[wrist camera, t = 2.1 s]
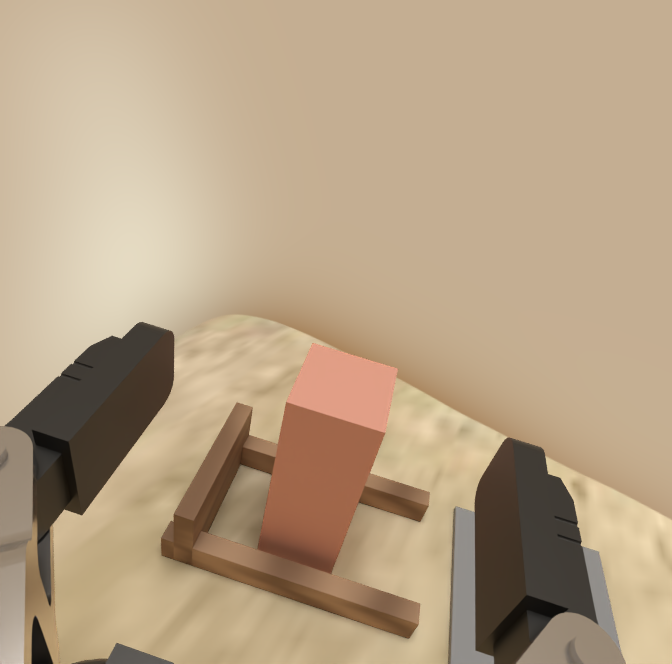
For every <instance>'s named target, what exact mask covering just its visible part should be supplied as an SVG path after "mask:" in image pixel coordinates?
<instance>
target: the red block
mask: <svg viewBox="0 0 672 664" xmlns="http://www.w3.org/2000/svg"><path fill="white" fill-rule="evenodd" d="M397 370H398V369H397V368H393V367H390V366H387V365H384V364H380V363H377V362H374V361H370V360H367V359H364V358H361V357H357V356H354V355H351V354H347V353H344V352H341V351H338V350H334V349H331V348H328V347H324V346H321V345H318V344H314V343H312V346H311V348H310V350H309V352H308V354H307V357H306V359H305V361H304V363H303V366H302V368H301V370H300V372H299V375H298V377H297V379H296V381H295V384H294V386H293V388H292V390H291V393H290V395H289V397H288V399H287V402H286V406H285V411H284V416H283V421H282V426H281V431H280V436H279V442H278V447H277V452H276V457H275V462H274V467H273V472H272V477H271V482H270V488H269V493H268V498H267V503H266V508H265V513H264V518H263V523H262V529H261V534H260V539H259V544H258V549H257V550H260V551H263V552H266V553H269V554H272V555H275V556H278V557H281V558H284V559H287V560H290V561H293V562H296V563H299V564H302V565H305V566H308V567H311V568H314V569H317V570H320V571H323V572H326V573H329V574H331V572H332V569H333V567H334V564H335V562H336V559H337V556H338V554H339V551H340V549H341V546H342V544H343V541H344V538H345V536H346V533H347V531H348V528H349V525H350V523H351V520H352V518H353V515H354V512H355V510H356V507H357V505H358V502H359V499H360V497H361V494H362V492H363V489H364V487H365V484H366V481H367V479H368V476H369V474H370V471H371V468H372V466H373V463H374V461H375V458H376V455H377V453H378V450H379V448H380V445H381V442H382V440H383V437H384V435H385V431H386V426H387V421H388V416H389V411H390V406H391V401H392V395H393V390H394V385H395V380H396V374H397Z"/></svg>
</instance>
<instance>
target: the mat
mask: <svg viewBox="0 0 672 664" xmlns="http://www.w3.org/2000/svg"><path fill="white" fill-rule="evenodd" d="M583 552H584V557H585V562H586V567H587V572H588V577H589V582H590V587H591V592H592V597H593V602H594V607H595V612H596V617H597V621H598V624H599V626H600V627H601V628H602V629H604V630H605V631H606V633H607V634H608V635H609V636H610V637H611V638H612V639H613V641H614V642H615V643H616V645H617V647H618V648H619V650H620V651H621V649H620V645H619V640H618V636H617V631H616V627H615V622H614V618H613V613H612V609H611V604H610V600H609V595H608V591H607V586H606V582H605V577H604V573H603V568H602V564H601V559H600V555H599V552H598V551H595V550H592V549H589V548H585V547H583ZM449 664H494V657H493V656H490V655H487V654H484V653H481V652H478V651H475V512H472V511H469V510H466V509H463V508H460V507H455V509H454V525H453V553H452V581H451V609H450V637H449Z"/></svg>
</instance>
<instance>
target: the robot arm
mask: <svg viewBox="0 0 672 664" xmlns="http://www.w3.org/2000/svg"><path fill="white" fill-rule="evenodd" d="M173 380H174V335H173V332H172V331H169V330H166V329H163V328H160V327H156V326H153V325H150V324H147V323H144V322H140V323H138V324H136V325H135V326H134V327H133V328H132V329H131V330H130V331H129V332H128V333H127V334H126V335H125V336H124V337H123V338H122V339H121V338H117V337H114V336H111V337H109V338H106V339H104V340H102V341H100V342H98V343H96V344H94V345H91V346H90V347H89V348H88V349H87V350H85V351H84V352H83V353H82V354H81V355H80V356H79V357H78V358H77V359H76V360H75V361H74V364H71V365H69V366H68V367H67V368H66V370H64V371H63V372H62V374H61V376H60V377H57V378H56V379H55V380H54V381H52V382H51V383H50V384H49V385H48V386H47V387H46V388H45V389H44V390H43V391H42V392H41V393H40V394H39V395H38V396H37V397H35V398H34V399H33V401H31V402H30V403H29V404H28V405H27V406H26V407H25V408H24V409H23V410H22V411H21V412H19V413H18V414H17V415H16V416H15V418H13V419H12V420H11V421H10V422H9V423H7V424H6V425H5V426H0V664H60V653H59V641H58V633H57V626H56V616H55V587H54V545H53V525H52V524H53V523H54V522H55V520H56V519H57V518H58V517H59V515H60V514H61V513H62V512H63V510H64V509H65V510H68V511H71V512H74V513H77V514H80V515H83V513H84V512H85V511H86V509H87V508H88V507H89V505H90V504H91V503H92V501H93V500H94V498H95V497H96V496H97V494H98V493H99V492H100V490H101V489H102V488H103V486H104V485H105V484H106V482H107V481H108V479H109V478H110V477H111V475H112V474H113V473H114V471H115V470H116V469H117V467H118V466H119V465H120V463H121V462H122V461H123V459H124V458H125V456H126V455H127V454H128V452H129V451H130V450H131V448H132V447H133V446H134V444H135V443H136V442H137V440H138V439H139V437H140V436H141V435H142V433H143V432H144V431H145V429H146V428H147V427H148V425H149V424H150V423H151V421H152V420H153V419H154V417H155V416H156V414H157V413H158V412H159V410H160V409H161V408H162V406H163V405H164V404H165V402H166V400H167V399H168V397H169V394H170V392H171V389H172V386H173ZM577 524H578V521H577V516H576V511H575V506H574V501H573V499H572V497H571V496H570V494H569V492H568V490H567V489H566V487H565V485H564V484H563V482H562V480H561V478H559V477H555V476H552V475H549V474H548V471H547V465H546V458H545V453H544V450H543V449H542V448H541V447H538V446H535V445H532V444H528V443H525V442H522V441H519V440H515V439H512V438H507V439H505V440H504V442H503V443H502V445H501V446H500V448H499V450H498V451H497V453H496V454H495V456H494V458H493V459H492V461H491V463H490V464H489V466H488V467H487V469H486V471H485V472H484V474H483V476H482V477H481V479H480V482H479V484H478V487H477V491H476V496H475V651H478V652H481V653H484V654H487V655H490V656H493V657H494V664H626V663H625V660H624V658H623V656H622V653H621V651H620V650H619V648H618V647H617V645H616V643H615V642H614V641H613V639H612V638H611V637H610V636H609V635H608V634H607V633H606V631H605V630H604V629H602V628H601V627H600V626H599V624H598V621H597V617H596V612H595V607H594V602H593V597H592V592H591V587H590V582H589V577H588V572H587V567H586V562H585V557H584V552H583V547H582V546H581V542H582V541H581V536H580V531H579V528H578V527H577ZM72 664H174V663H172V662H169V661H167V660H164V659H161V658H158V657H155V656H152V655H150V654H147V653H144V652H141V651H138V650H135V649H133V648H130V647H127V646H124V645H121V644H118V643H116V645H115V647H114V649H113V651H112V653H111V654H110V656H109V658H108V659H94V660H85V661H80V662H76V663H72Z"/></svg>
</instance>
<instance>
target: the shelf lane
mask: <svg viewBox="0 0 672 664" xmlns="http://www.w3.org/2000/svg"><path fill="white" fill-rule="evenodd" d="M252 409H253V407H250V406H247V405H243V404H240V403H236V405H235V407H234V408H233V410H232V412H231V414H230V415H229V417H228V419H227V421H226V422H225V424H224V426H223V428H222V430H221V431H220V433H219V435H218V437H217V438H216V440H215V442H214V444H213V446H212V447H211V449H210V451H209V453H208V454H207V456H206V458H205V460H204V461H203V463H202V465H201V467H200V469H199V470H198V472H197V474H196V476H195V477H194V479H193V481H192V483H191V484H190V486H189V488H188V490H187V492H186V493H185V495H184V497H183V499H182V500H181V502H180V504H179V506H178V508H177V509H176V511H175V513H174V522H173V521H171V522H170V523H169V525H168V527H167V529H166V530H165V532H164V534H163V536H162V538H161V551H162V556H165V557H168V558H171V559H174V560H177V561H180V562H183V563H186V564H189V565H192V566H195V567H198V568H201V569H204V570H207V571H210V572H213V573H216V574H219V575H222V576H225V577H228V578H231V579H234V580H237V581H240V582H243V583H246V584H249V585H252V586H254V587H257V588H260V589H263V590H266V591H269V592H272V593H275V594H278V595H281V596H284V597H287V598H290V599H293V600H296V601H299V602H302V603H305V604H308V605H311V606H314V607H317V608H320V609H323V610H326V611H329V612H332V613H335V614H338V615H341V616H344V617H346V618H349V619H352V620H355V621H358V622H361V623H364V624H367V625H370V626H373V627H376V628H379V629H382V630H385V631H388V632H391V633H394V634H397V635H400V636H403V637H406V638H410V636H411V635H412V633H413V632H414V630H415V629H416V627H417V626H418V624H419V613H420V603H417V602H414V601H410V600H407V599H404V598H401V597H398V596H395V595H392V594H389V593H386V592H383V591H380V590H377V589H374V588H371V587H368V586H365V585H362V584H359V583H356V582H353V581H350V580H347V579H344V578H341V577H338V576H335V575H332V574H329V573H326V572H323V571H320V570H317V569H314V568H311V567H308V566H305V565H302V564H299V563H296V562H293V561H290V560H287V559H284V558H281V557H278V556H275V555H272V554H269V553H266V552H263V551H260V550H257V549H254V548H251V547H248V546H245V545H242V544H239V543H236V542H233V541H230V540H227V539H224V538H221V537H218V536H215V535H212V534H209V533H208V531H209V528H210V526H211V524H212V522H213V520H214V518H215V516H216V514H217V512H218V510H219V508H220V506H221V504H222V502H223V500H224V497H225V495H226V493H227V491H228V489H229V487H230V485H231V483H232V481H233V479H234V477H235V475H236V473H237V471H238V469H239V466H240V464H242V465H246V466H249V467H252V468H255V469H258V470H261V471H264V472H267V473H270V474H272V472H273V467H274V462H275V457H276V452H277V447H278V444H276V443H272V442H269V441H266V440H263V439H260V438H257V437H254V436H250V435H249V430H250V423H251V416H252ZM429 495H430V492H427V491H424V490H421V489H417V488H414V487H411V486H408V485H405V484H402V483H399V482H395V481H392V480H389V479H386V478H383V477H380V476H376V475H373V474H369V476H368V479H367V481H366V484H365V487H364V489H363V492H362V494H361V497H360V499H359V502H361V503H364V504H367V505H370V506H373V507H376V508H379V509H382V510H386V511H389V512H392V513H395V514H398V515H401V516H404V517H407V518H410V519H414V520H417V521H421V519H422V517H423V516H424V514H425V512H426V510H427V508H428V506H429Z"/></svg>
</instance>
